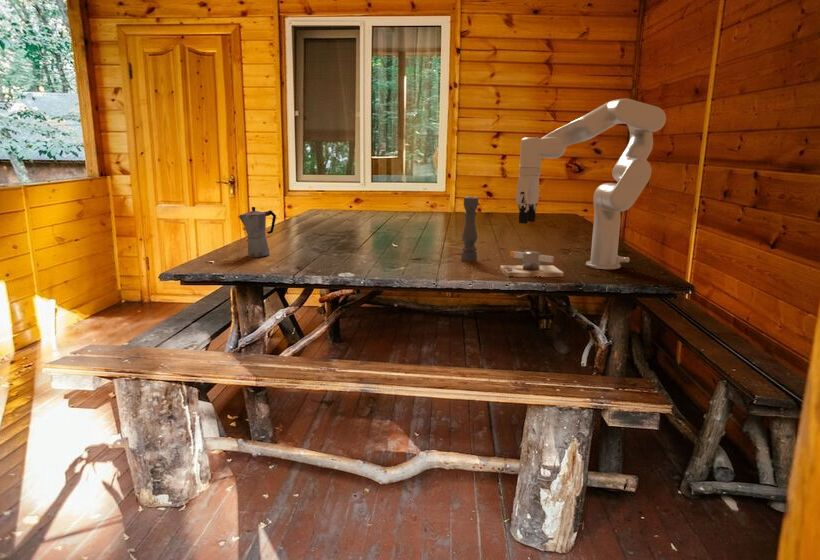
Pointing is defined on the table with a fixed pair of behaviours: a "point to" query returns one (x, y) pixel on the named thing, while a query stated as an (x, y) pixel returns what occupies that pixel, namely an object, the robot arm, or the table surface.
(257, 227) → the moka pot
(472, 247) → the candle holder
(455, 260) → the table surface
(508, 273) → the stand
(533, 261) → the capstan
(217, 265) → the table surface
